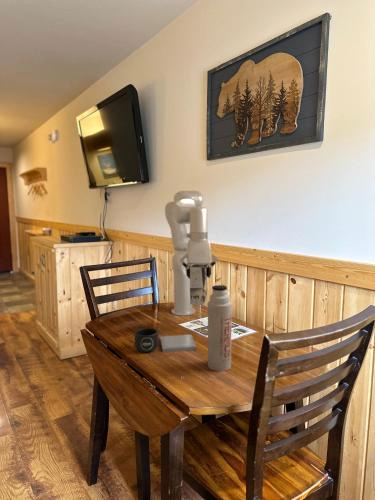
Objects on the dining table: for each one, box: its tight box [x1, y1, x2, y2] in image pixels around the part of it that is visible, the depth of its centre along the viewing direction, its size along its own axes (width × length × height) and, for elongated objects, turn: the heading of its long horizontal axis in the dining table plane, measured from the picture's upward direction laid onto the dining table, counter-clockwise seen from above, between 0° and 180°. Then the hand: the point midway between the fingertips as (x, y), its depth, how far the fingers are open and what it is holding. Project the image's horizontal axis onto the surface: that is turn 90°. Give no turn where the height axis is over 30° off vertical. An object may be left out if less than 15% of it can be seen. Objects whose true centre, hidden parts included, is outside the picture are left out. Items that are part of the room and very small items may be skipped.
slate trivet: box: [159, 334, 197, 353], centre depth 138 cm, size 13×13×1 cm
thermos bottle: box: [207, 284, 232, 372], centre depth 117 cm, size 8×8×28 cm
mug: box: [134, 327, 159, 353], centre depth 134 cm, size 12×9×7 cm
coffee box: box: [190, 264, 208, 306], centre depth 147 cm, size 9×6×16 cm
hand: (198, 277), depth 147 cm, fingers closed on coffee box, 7 cm apart
